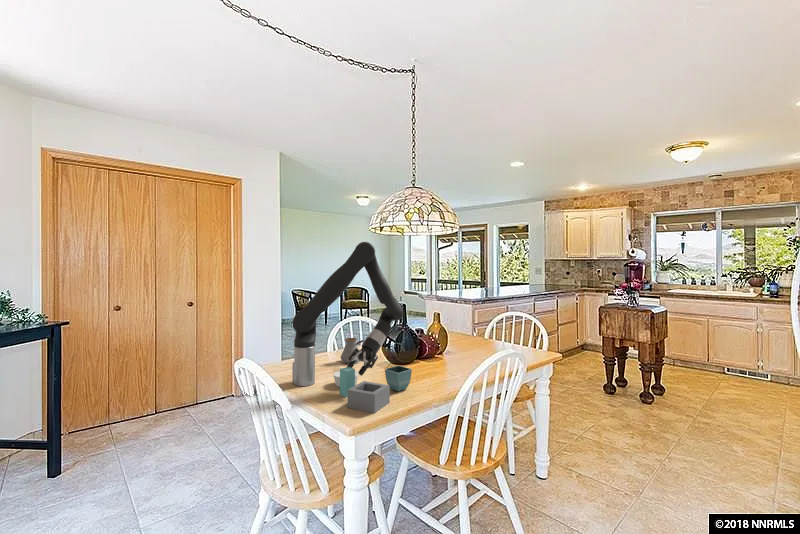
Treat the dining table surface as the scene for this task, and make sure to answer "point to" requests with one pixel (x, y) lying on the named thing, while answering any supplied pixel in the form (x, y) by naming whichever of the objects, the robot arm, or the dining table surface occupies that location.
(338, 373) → the ramekin
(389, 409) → the dining table surface
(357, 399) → the box
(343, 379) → the teal post
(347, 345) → the coffee pot
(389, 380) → the flower pot
